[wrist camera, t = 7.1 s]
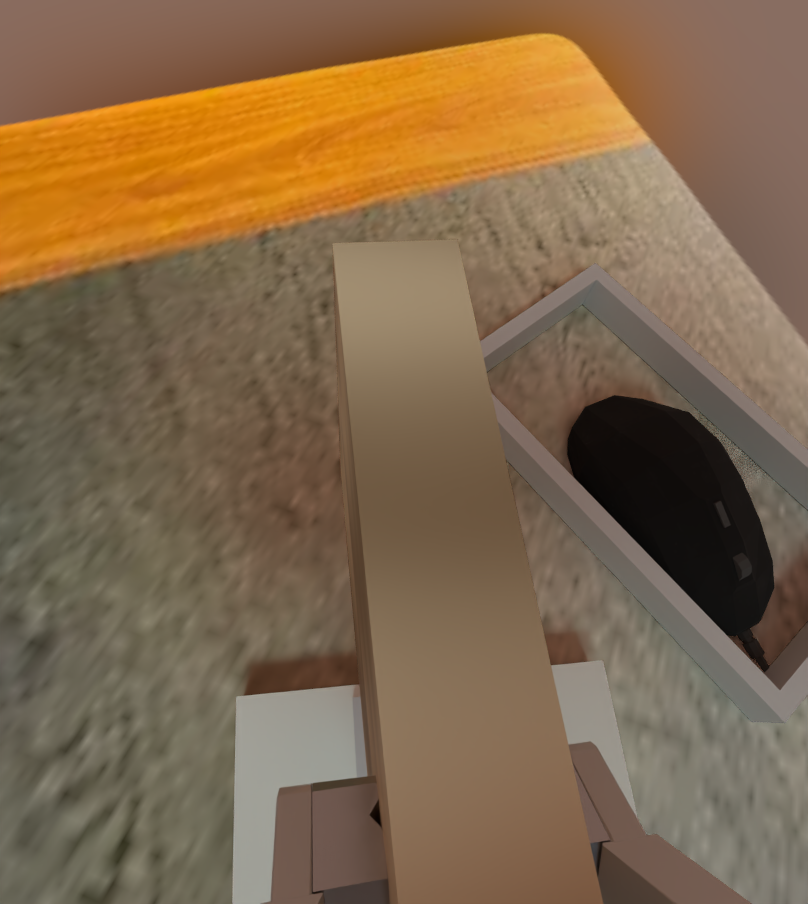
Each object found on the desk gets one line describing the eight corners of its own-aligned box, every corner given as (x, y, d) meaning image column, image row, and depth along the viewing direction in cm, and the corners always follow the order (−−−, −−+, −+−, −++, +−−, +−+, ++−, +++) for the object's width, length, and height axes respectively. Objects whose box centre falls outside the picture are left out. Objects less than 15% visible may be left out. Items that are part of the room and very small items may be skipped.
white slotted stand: (653, 969, 20) (730, 1034, 16) (238, 1036, 19) (206, 1127, 14) (589, 663, 24) (636, 652, 20) (243, 697, 23) (218, 694, 18)
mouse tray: (884, 561, 27) (923, 550, 25) (751, 721, 24) (784, 722, 22) (581, 288, 32) (595, 262, 30) (438, 387, 29) (444, 365, 27)
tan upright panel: (463, 865, 13) (642, 1079, 5) (376, 880, 13) (421, 1129, 5) (402, 430, 18) (445, 185, 10) (337, 435, 18) (326, 188, 10)
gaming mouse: (719, 731, 24) (785, 735, 20) (539, 432, 29) (566, 391, 25) (832, 664, 25) (912, 655, 22) (642, 390, 30) (681, 346, 27)
